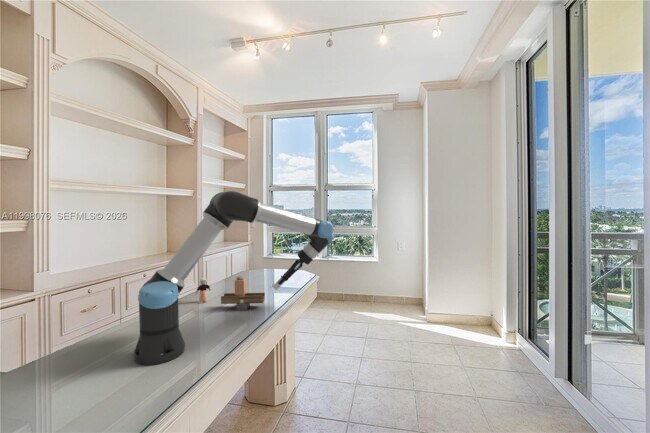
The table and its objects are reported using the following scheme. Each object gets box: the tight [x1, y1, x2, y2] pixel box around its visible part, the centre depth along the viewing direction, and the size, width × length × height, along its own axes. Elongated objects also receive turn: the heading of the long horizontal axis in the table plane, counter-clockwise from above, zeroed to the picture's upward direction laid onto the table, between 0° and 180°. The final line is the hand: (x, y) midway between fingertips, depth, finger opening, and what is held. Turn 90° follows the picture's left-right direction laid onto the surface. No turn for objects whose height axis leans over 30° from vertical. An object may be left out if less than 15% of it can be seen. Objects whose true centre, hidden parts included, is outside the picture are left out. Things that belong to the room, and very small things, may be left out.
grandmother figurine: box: [195, 277, 212, 304], centre depth 159 cm, size 8×4×13 cm, turn 143°
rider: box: [234, 276, 247, 296], centre depth 149 cm, size 4×4×10 cm
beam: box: [220, 292, 266, 311], centre depth 149 cm, size 7×20×7 cm, turn 92°
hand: (274, 288), depth 150 cm, fingers closed
